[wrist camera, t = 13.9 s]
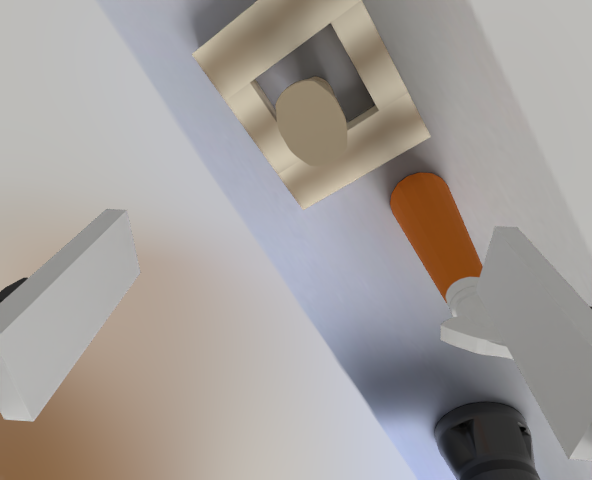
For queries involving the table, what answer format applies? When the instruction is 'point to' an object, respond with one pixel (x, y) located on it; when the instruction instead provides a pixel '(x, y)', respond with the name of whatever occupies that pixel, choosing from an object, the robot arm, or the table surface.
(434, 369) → the table surface
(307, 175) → the board
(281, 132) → the handle
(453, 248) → the spray bottle
